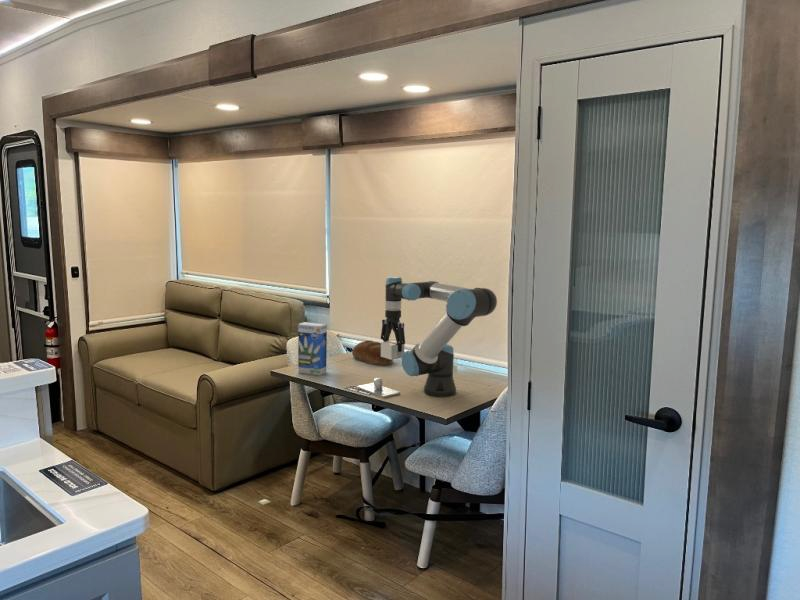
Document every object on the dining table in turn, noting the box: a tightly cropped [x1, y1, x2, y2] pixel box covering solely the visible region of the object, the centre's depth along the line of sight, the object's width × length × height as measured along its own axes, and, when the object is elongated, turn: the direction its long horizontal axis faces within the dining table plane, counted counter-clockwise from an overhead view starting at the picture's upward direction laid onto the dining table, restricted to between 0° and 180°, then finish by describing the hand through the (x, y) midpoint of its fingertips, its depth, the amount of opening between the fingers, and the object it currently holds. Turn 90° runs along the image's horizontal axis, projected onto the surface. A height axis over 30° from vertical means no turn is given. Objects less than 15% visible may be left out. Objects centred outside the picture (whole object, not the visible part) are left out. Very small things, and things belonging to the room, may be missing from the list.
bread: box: [351, 340, 394, 366], centre depth 340 cm, size 16×29×11 cm, turn 42°
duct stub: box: [356, 377, 401, 399], centre depth 281 cm, size 20×10×6 cm, turn 41°
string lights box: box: [297, 321, 328, 376], centre depth 311 cm, size 13×8×26 cm, turn 69°
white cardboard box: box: [380, 340, 406, 361], centre depth 286 cm, size 8×8×7 cm
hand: (392, 356), depth 286 cm, fingers closed on white cardboard box, 8 cm apart
